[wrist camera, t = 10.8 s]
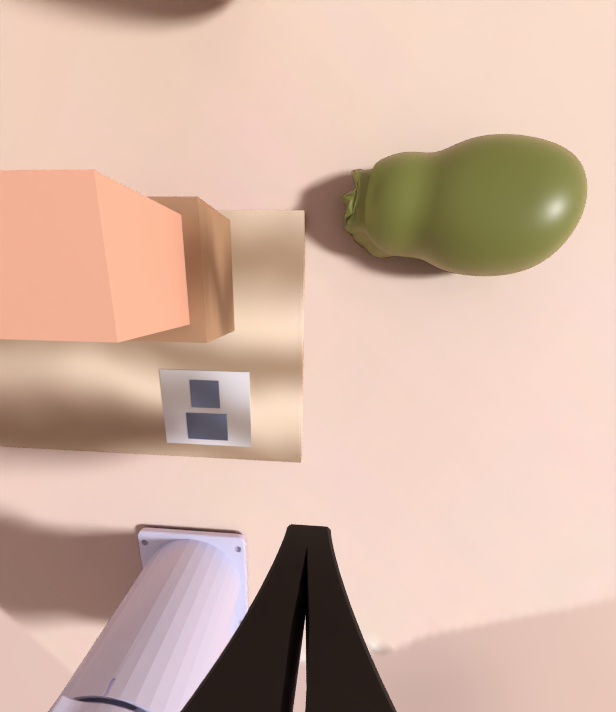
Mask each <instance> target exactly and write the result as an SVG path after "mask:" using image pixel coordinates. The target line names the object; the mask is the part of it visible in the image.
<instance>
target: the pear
mask: <svg viewBox="0 0 616 712" xmlns="http://www.w3.org/2000/svg"><path fill="white" fill-rule="evenodd" d="M352 177H353V181H354V184H355V186H356V188H355V189H353V190H351V191H350V192H348V193H346V194H344V195H346V196H344V195H343V196H342V200H343V202H344V206H345V210H346V213H345V216H344V230H345V231H347V232H348V233H350V234H351V235H352V236H353V237H354V240H355V241H356V242H357V243H359V244H360V245H361V246H362V247H365V248H366V249H367V251H368V252H369V253H370V254H371V255H373V256H375V257H380V258H384V257H390V256H401V257H411V258H417V259H421V260H424V261H426V262H428V263H430V264H431V265H433V266H435V267H437V268H440V269H442V270H445V271H448V272H452V273H457V274H463V275H471V276H498V275H506V274H512V273H516V272H520V271H523V270H526V269H529V268H531V267H533V266H535V265H537V264H539V263H541V262H543V261H544V260H546V259H547V258H549V257H550V256H551V255H552V254H554V253H555V252H556V251H557V250H558V249H559V248H560V247H561V246H562V245H563V244H564V243H565V242H566V240H567V239H568V238H569V237H570V235H571V234H572V232H573V231H574V229H575V228H576V226H577V224H578V222H579V220H580V218H581V216H582V213H583V210H584V207H585V203H586V198H587V179H586V175H585V171H584V169H583V166H582V164H581V163H580V161H579V160H578V159H577V157H576V156H575V155H574V154H573V153H571V152H570V151H569V150H567V149H566V148H564V147H562V146H560V145H558V144H556V143H553V142H550V141H547V140H544V139H540V138H535V137H530V136H523V135H513V134H495V135H485V136H479V137H475V138H471V139H468V140H465V141H463V142H460V143H458V144H455V145H453V146H451V147H449V148H446V149H444V150H441V151H438V152H430V153H424V152H403V153H398V154H394V155H391V156H388V157H386V158H383V159H381V160H380V161H378V162H377V163H376V165H375V166H374V168H373V169H370V170H361V169H358V170H353V171H352ZM352 194H355V195H352ZM347 195H350V196H347Z"/></svg>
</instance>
